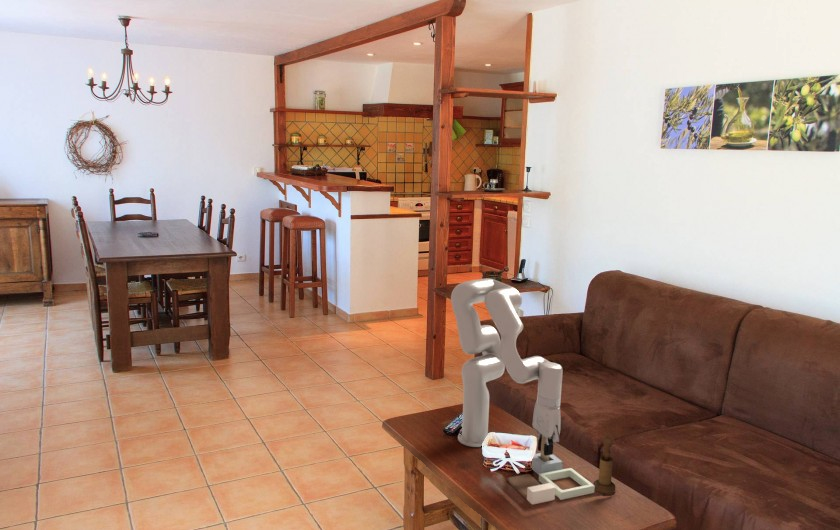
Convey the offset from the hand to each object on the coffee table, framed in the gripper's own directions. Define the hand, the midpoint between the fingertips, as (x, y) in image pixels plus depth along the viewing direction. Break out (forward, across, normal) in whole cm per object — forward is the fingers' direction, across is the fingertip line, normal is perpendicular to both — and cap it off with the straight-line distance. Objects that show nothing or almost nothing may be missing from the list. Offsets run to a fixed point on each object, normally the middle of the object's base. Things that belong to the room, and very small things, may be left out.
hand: (545, 451), depth 213 cm
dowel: (+5, 0, 0) cm, 5 cm away
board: (+8, +9, -12) cm, 16 cm away
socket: (+7, 0, 0) cm, 7 cm away
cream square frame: (+7, +12, 0) cm, 14 cm away
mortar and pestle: (+7, +17, +11) cm, 22 cm away
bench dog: (+7, +16, -12) cm, 21 cm away
